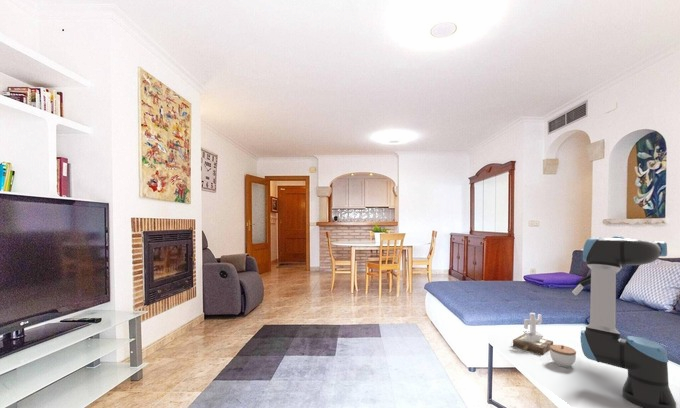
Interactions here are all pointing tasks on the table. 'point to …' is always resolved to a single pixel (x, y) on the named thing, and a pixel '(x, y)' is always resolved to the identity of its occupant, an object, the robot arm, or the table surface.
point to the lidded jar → (563, 355)
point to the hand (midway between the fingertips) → (583, 296)
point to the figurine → (533, 327)
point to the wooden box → (532, 344)
